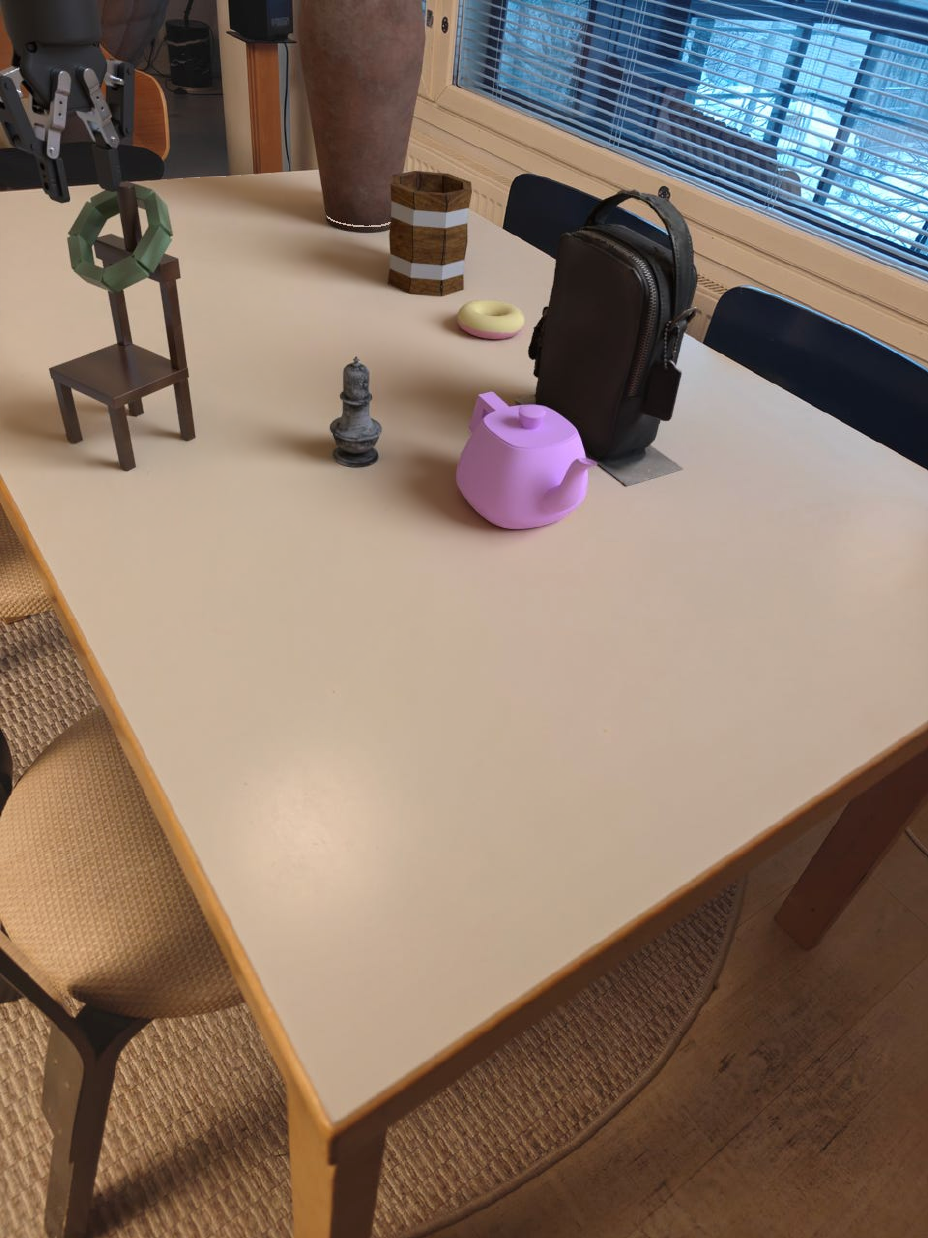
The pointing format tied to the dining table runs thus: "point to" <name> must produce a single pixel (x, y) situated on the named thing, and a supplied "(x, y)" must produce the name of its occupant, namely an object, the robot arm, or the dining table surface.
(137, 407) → the chair
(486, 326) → the donut
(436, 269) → the wooden barrel
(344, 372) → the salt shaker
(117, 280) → the ring
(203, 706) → the dining table surface
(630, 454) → the shoulder bag
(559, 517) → the teapot
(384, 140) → the vase
